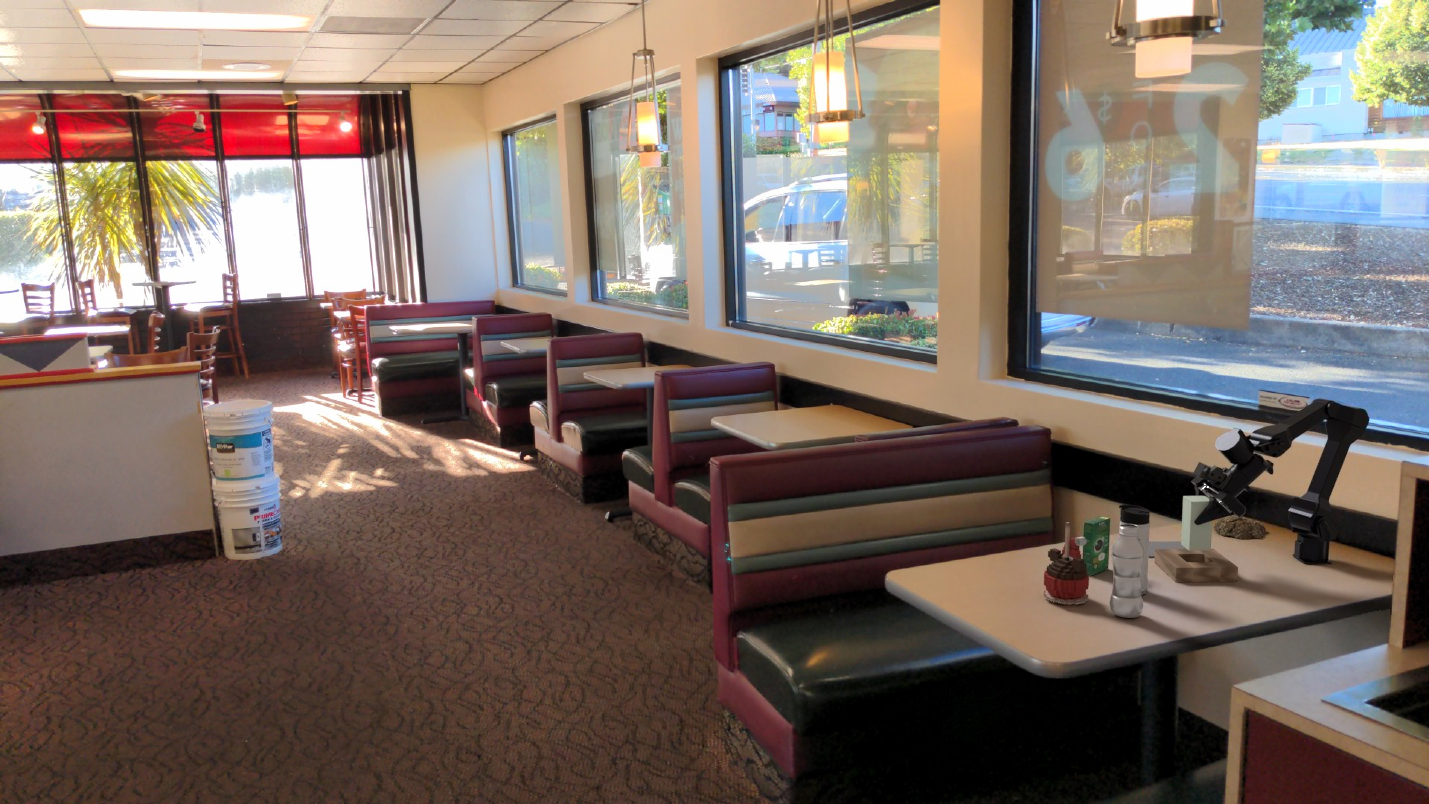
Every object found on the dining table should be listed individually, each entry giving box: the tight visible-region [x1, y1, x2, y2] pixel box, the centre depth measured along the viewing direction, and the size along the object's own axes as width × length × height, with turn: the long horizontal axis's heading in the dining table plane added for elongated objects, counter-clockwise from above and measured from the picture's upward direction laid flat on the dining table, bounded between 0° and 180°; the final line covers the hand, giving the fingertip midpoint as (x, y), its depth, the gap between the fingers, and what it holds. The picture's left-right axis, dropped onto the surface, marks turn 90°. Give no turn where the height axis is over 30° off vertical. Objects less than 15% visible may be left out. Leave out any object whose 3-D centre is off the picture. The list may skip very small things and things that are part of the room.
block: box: [1180, 495, 1213, 551], centre depth 245 cm, size 5×5×12 cm
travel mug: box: [1118, 503, 1151, 596], centre depth 234 cm, size 6×7×20 cm
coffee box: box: [1081, 515, 1111, 577], centre depth 249 cm, size 8×3×13 cm, turn 129°
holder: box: [1154, 548, 1239, 583], centre depth 247 cm, size 14×14×4 cm
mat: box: [1148, 540, 1186, 559], centre depth 264 cm, size 12×12×1 cm
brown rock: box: [1213, 514, 1267, 540], centre depth 276 cm, size 13×12×5 cm
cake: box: [1043, 521, 1090, 605], centre depth 230 cm, size 11×9×18 cm
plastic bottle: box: [1109, 524, 1144, 619], centre depth 220 cm, size 6×7×20 cm
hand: (1191, 520), depth 245 cm, fingers closed on block, 5 cm apart
